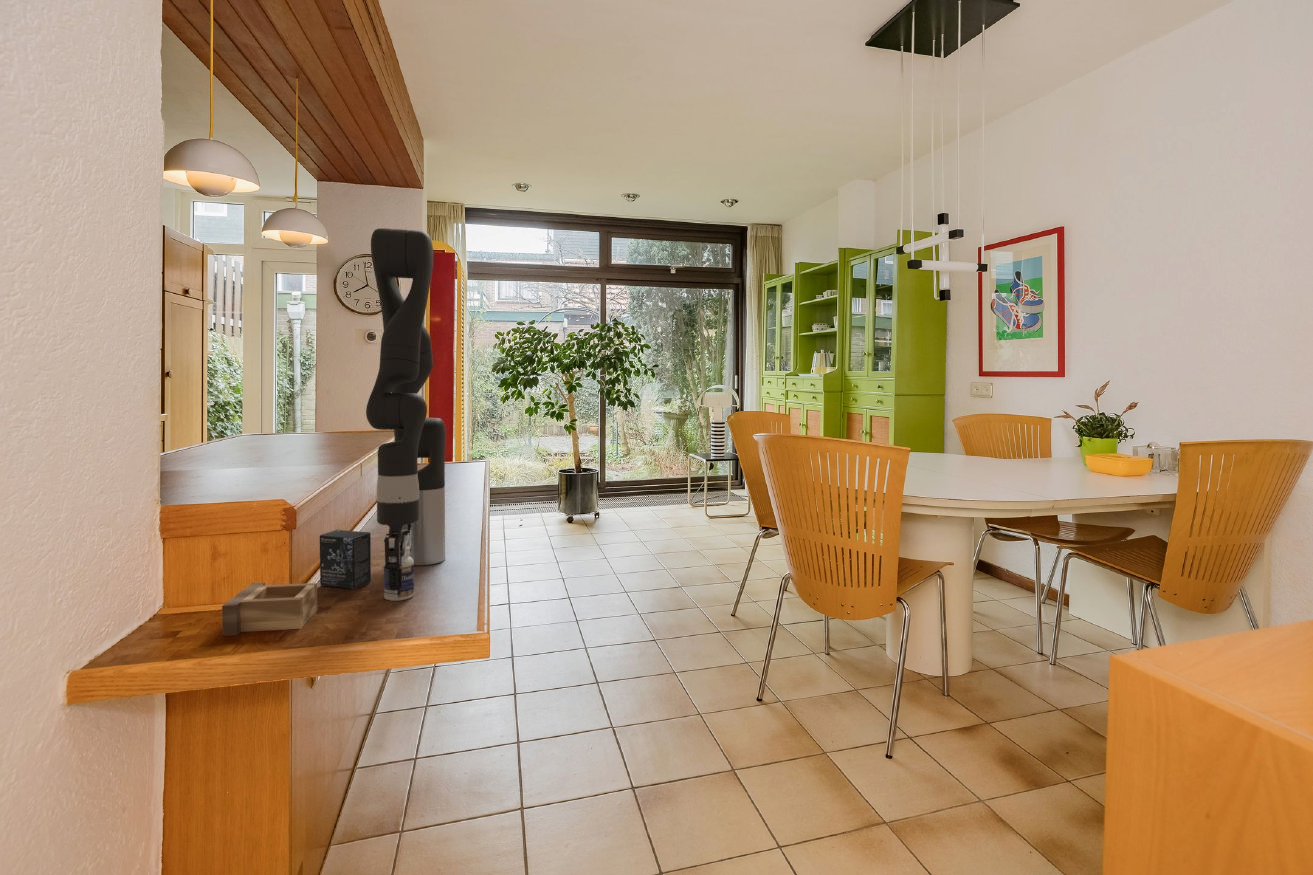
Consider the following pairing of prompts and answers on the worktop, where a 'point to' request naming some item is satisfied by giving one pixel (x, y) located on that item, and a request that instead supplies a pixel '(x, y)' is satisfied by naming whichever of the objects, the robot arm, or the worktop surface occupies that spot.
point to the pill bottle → (407, 580)
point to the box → (345, 559)
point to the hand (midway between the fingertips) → (399, 582)
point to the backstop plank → (235, 611)
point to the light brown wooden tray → (278, 607)
